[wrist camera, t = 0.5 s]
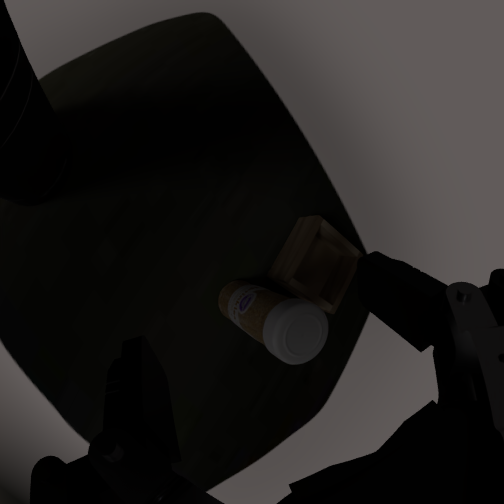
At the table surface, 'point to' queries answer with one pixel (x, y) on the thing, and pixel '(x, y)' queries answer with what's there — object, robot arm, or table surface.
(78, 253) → the table surface
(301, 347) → the sprinkles bottle
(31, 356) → the table surface
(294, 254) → the oak socket block
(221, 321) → the table surface
